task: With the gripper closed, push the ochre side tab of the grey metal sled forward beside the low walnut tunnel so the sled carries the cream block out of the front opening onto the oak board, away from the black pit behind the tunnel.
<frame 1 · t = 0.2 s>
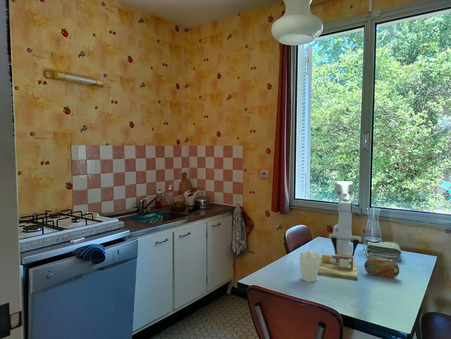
hand: (344, 254, 147), 11 cm above the table, tool pointing down, fingers open, 7 cm apart
slider: (335, 261, 158), point 4 cm above the table, slide at 0.0 cm, touching block
towel: (382, 256, 178), on the table
block: (344, 265, 156), point 2 cm above the table, touching slider
board tunnel: (343, 269, 157), on the table
cup: (309, 279, 144), on the table
tin: (381, 276, 149), on the table
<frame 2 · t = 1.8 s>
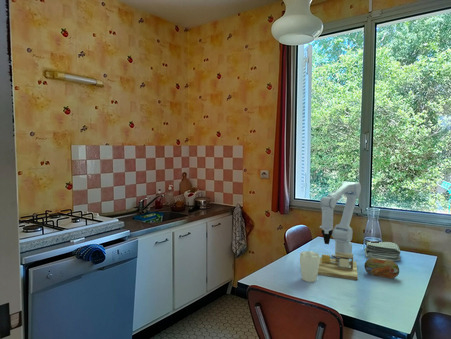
hand: (326, 243, 165), 10 cm above the table, tool pointing down, fingers closed
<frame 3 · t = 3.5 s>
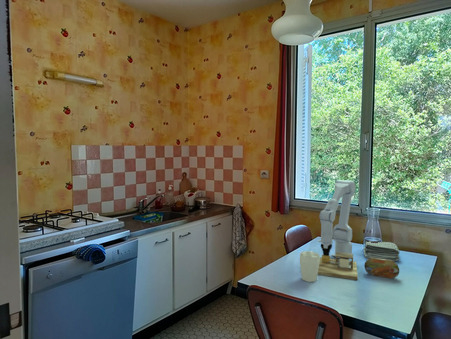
hand: (326, 258, 163), 4 cm above the table, tool pointing down, fingers closed
slider: (335, 261, 158), point 4 cm above the table, slide at 0.4 cm, touching block, gripper
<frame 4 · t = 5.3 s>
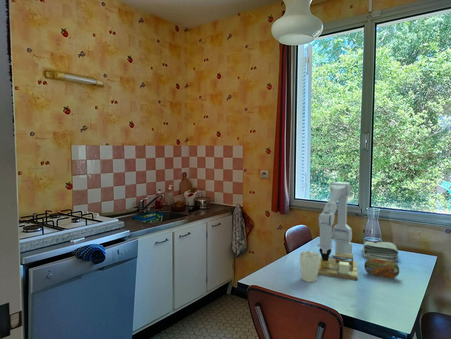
hand: (325, 263, 155), 4 cm above the table, tool pointing down, fingers closed
slider: (335, 266, 150), point 4 cm above the table, slide at 8.8 cm, touching block, gripper
block: (344, 271, 148), point 2 cm above the table, touching slider
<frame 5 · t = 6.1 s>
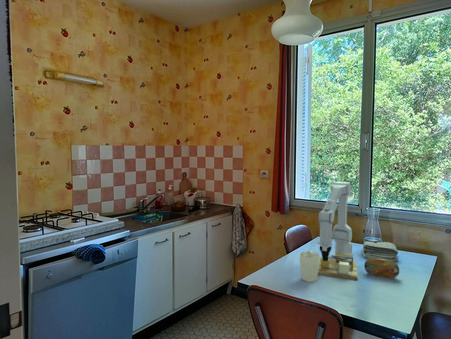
hand: (325, 260, 155), 5 cm above the table, tool pointing down, fingers closed
slider: (335, 267, 150), point 4 cm above the table, slide at 8.9 cm, touching block
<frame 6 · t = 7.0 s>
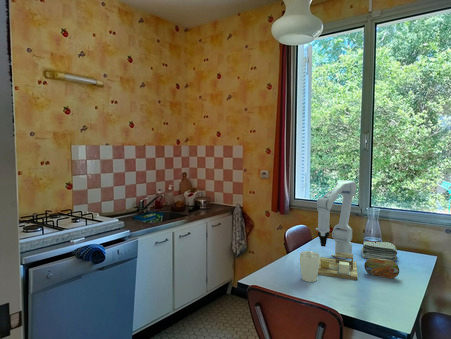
hand: (323, 246, 162), 10 cm above the table, tool pointing down, fingers closed
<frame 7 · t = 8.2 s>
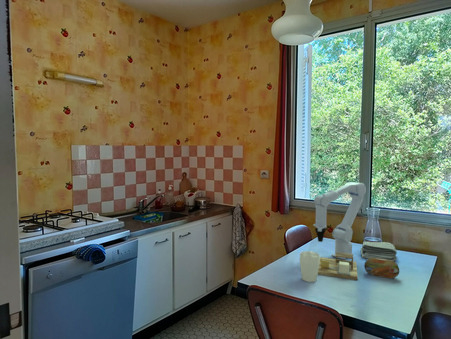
hand: (320, 241, 170), 10 cm above the table, tool pointing down, fingers closed
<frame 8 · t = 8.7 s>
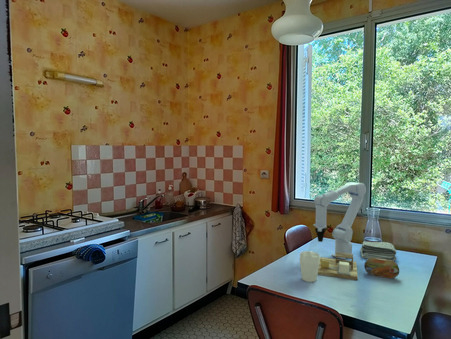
hand: (320, 241, 170), 10 cm above the table, tool pointing down, fingers closed
at the end: block 0.5 cm from the target spot, point 2.1 cm above the table; block tilted 0°; slider slide at 8.9 cm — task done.
